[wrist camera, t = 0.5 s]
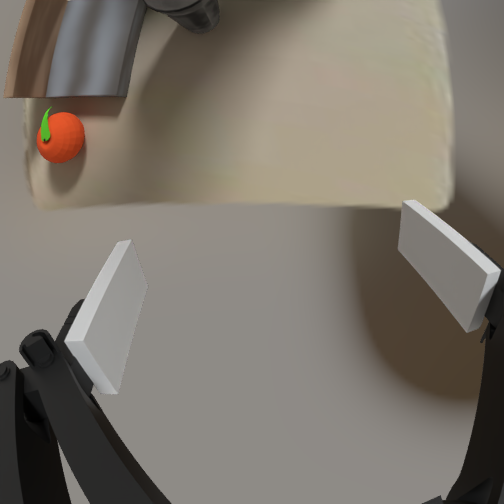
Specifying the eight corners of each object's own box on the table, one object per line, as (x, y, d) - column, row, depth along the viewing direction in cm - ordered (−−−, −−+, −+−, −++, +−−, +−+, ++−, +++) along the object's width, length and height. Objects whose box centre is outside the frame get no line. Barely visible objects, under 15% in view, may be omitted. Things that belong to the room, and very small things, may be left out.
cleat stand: (48, 98, 34) (3, 98, 25) (68, 8, 28) (29, -9, 19) (126, 96, 34) (86, 90, 25) (149, -3, 28) (119, -32, 19)
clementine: (53, 113, 35) (22, 115, 28) (89, 98, 34) (59, 96, 28) (60, 164, 38) (30, 172, 31) (97, 153, 37) (68, 159, 31)
